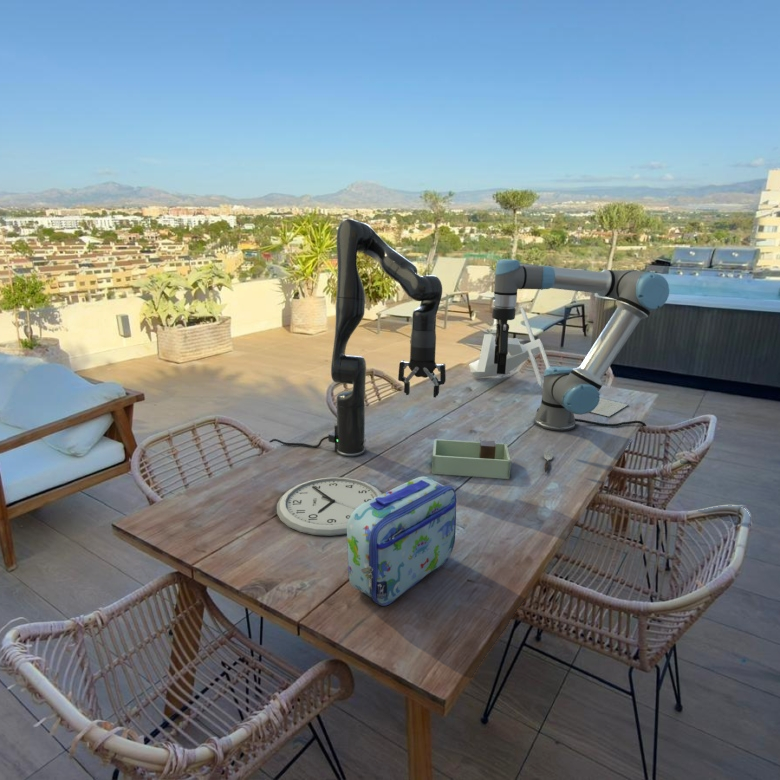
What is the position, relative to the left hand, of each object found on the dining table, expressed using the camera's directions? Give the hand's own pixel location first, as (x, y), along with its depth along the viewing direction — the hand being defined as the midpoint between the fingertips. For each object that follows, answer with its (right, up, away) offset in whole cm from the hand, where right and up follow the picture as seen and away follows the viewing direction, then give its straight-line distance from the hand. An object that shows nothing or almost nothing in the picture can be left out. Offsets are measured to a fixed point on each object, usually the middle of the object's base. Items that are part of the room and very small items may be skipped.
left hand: (421, 395), depth 161 cm
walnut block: (+21, -23, +6) cm, 31 cm away
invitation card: (+82, -6, +66) cm, 105 cm away
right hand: (+28, +9, +20) cm, 36 cm away
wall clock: (-25, -30, -18) cm, 43 cm away
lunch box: (-7, -39, -47) cm, 61 cm away
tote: (+16, -23, +7) cm, 29 cm away
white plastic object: (+48, +4, +95) cm, 107 cm away
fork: (+42, -22, +9) cm, 48 cm away
